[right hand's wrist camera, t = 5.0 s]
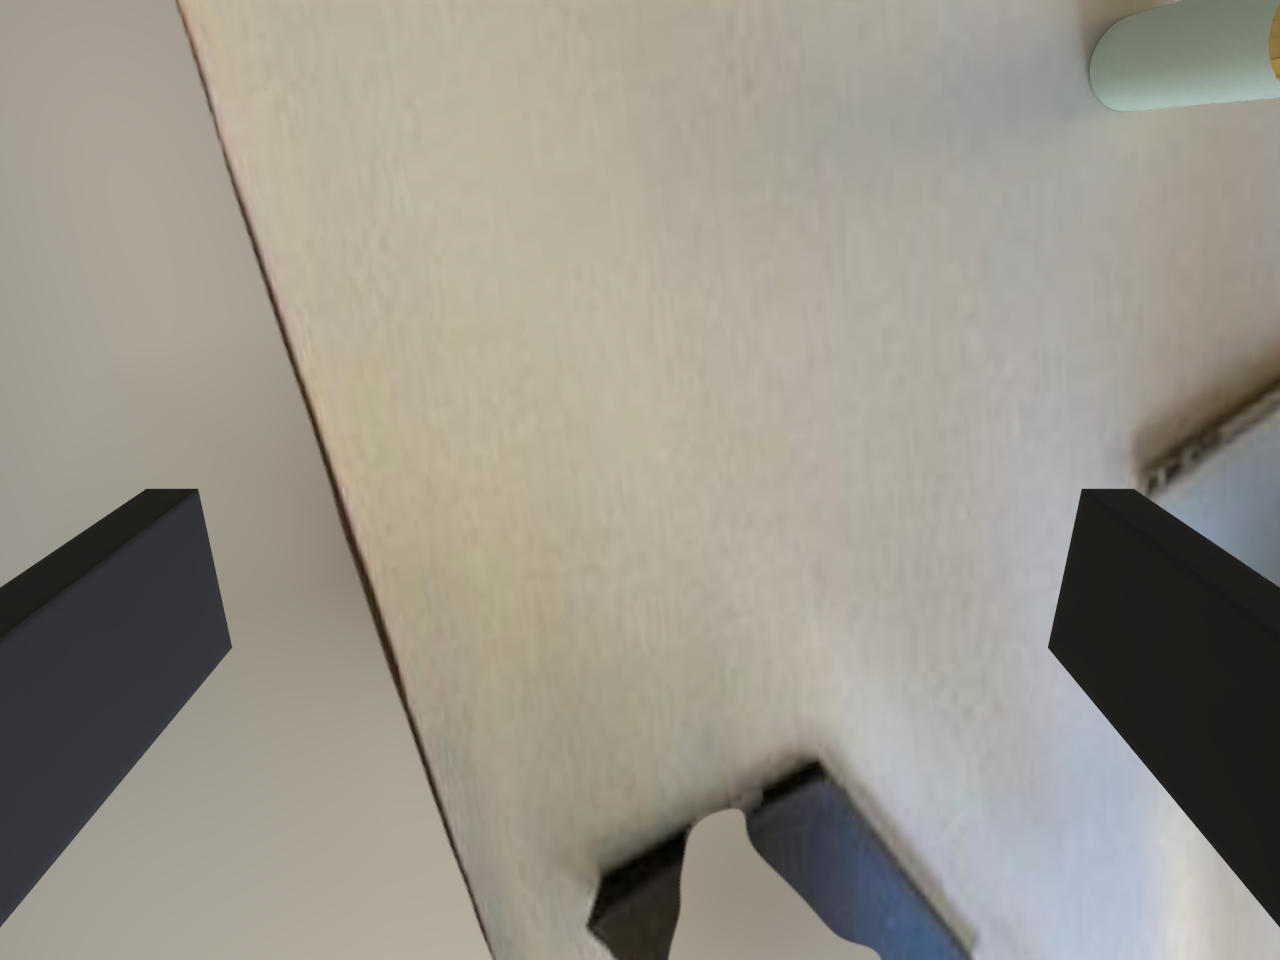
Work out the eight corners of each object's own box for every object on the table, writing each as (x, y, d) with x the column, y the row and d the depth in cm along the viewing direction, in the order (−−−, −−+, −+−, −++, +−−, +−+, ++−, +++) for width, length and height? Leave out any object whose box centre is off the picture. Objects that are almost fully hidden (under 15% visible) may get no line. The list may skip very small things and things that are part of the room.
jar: (1156, 119, 47) (1405, 101, 32) (1075, 101, 47) (1287, 75, 32) (1193, 23, 46) (1475, -44, 30) (1109, 4, 45) (1351, -74, 30)
